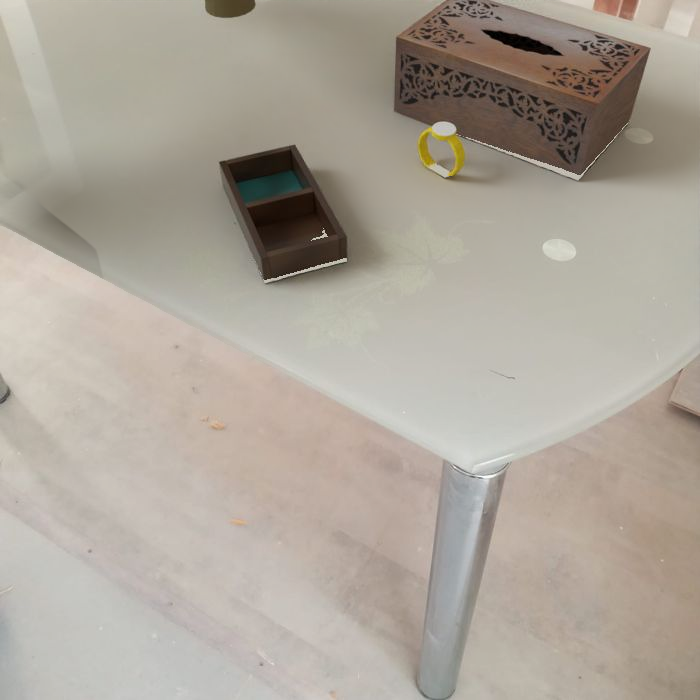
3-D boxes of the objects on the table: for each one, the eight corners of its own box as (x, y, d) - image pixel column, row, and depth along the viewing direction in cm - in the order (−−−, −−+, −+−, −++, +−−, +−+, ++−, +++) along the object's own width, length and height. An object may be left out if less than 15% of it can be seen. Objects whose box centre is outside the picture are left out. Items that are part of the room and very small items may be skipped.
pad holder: (264, 284, 79) (260, 259, 77) (223, 186, 90) (218, 161, 87) (347, 262, 81) (346, 236, 79) (297, 169, 92) (295, 144, 89)
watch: (412, 166, 92) (414, 122, 87) (427, 156, 93) (430, 112, 89) (451, 187, 89) (456, 143, 85) (466, 176, 90) (471, 132, 86)
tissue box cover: (628, 123, 97) (650, 47, 89) (578, 181, 89) (597, 104, 82) (452, 63, 107) (458, -9, 99) (393, 111, 100) (396, 36, 92)
